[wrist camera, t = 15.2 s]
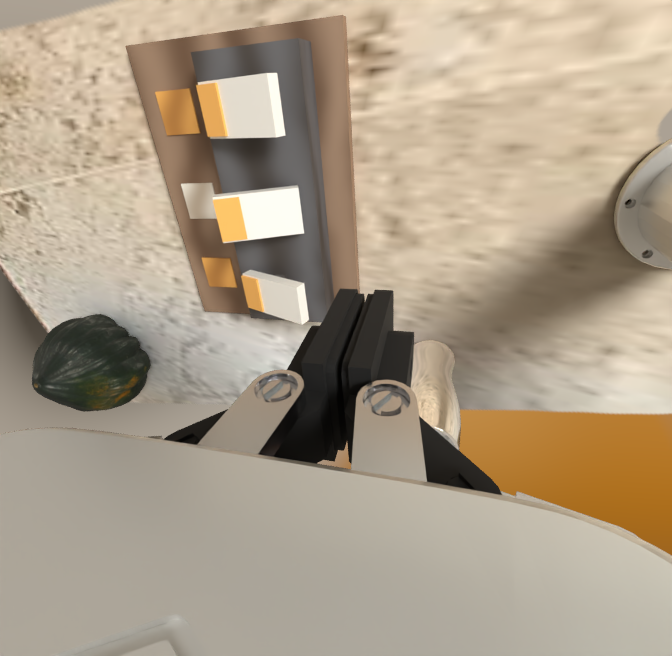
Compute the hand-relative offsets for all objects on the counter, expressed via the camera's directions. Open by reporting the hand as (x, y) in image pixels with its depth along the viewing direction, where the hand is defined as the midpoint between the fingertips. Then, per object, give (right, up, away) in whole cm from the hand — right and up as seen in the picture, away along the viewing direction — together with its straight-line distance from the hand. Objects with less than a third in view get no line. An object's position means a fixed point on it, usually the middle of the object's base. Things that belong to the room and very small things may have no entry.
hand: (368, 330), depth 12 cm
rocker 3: (-8, +4, +30) cm, 31 cm away
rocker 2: (-8, +11, +25) cm, 29 cm away
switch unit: (-10, +15, +31) cm, 36 cm away
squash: (-37, -2, +51) cm, 63 cm away
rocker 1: (-9, +19, +20) cm, 29 cm away
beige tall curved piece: (+11, -4, +38) cm, 39 cm away
